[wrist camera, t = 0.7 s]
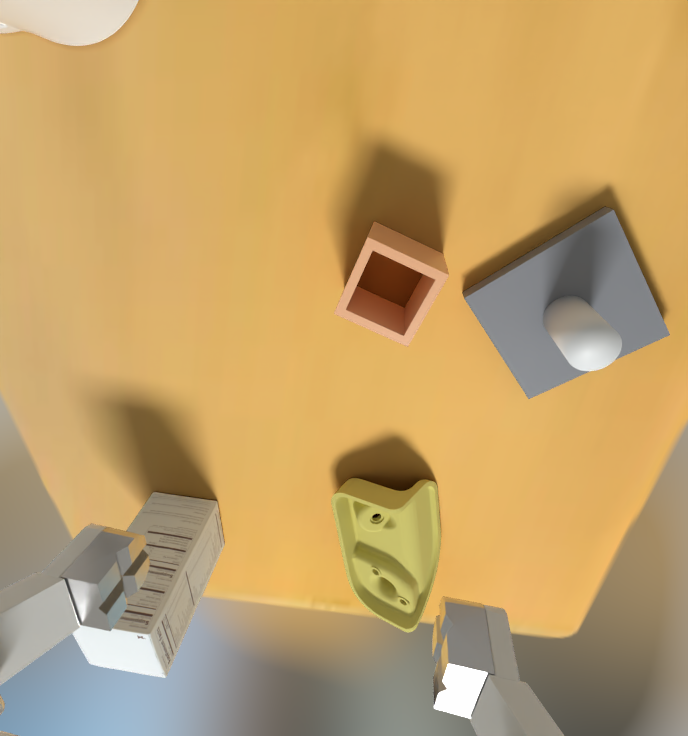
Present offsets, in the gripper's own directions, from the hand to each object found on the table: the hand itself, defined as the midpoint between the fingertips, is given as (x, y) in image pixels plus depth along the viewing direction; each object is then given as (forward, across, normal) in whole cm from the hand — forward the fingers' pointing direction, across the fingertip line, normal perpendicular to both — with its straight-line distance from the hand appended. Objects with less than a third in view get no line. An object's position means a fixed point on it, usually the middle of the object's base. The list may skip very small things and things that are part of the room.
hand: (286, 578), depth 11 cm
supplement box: (+31, +22, +35) cm, 52 cm away
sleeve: (+29, -1, -2) cm, 29 cm away
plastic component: (+32, -4, +31) cm, 45 cm away
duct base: (+30, -15, 0) cm, 33 cm away
